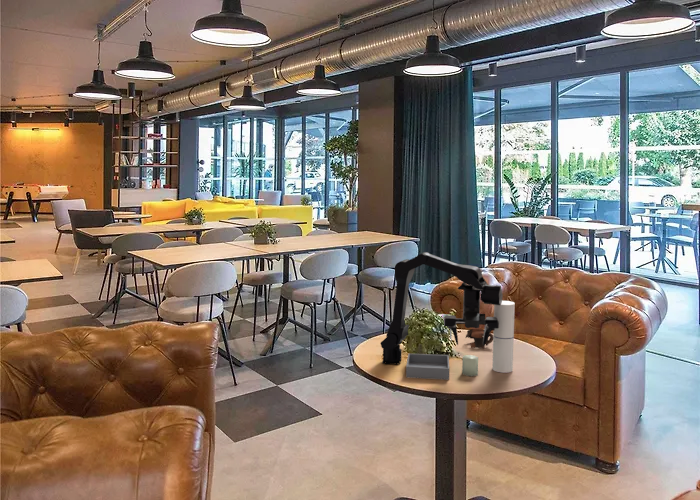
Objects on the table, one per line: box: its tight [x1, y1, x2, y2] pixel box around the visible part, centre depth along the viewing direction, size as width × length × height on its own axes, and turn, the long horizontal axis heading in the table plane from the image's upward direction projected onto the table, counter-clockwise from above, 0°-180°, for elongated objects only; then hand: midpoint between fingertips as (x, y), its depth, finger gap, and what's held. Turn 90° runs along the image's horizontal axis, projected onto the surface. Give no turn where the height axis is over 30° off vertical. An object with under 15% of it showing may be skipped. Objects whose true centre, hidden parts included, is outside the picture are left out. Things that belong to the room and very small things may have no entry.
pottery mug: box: [465, 328, 493, 349], centre depth 237 cm, size 12×10×8 cm
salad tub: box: [461, 354, 479, 377], centre depth 203 cm, size 6×6×6 cm
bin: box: [405, 353, 450, 381], centre depth 205 cm, size 15×15×4 cm
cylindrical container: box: [491, 300, 516, 374], centre depth 206 cm, size 7×7×25 cm
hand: (470, 345), depth 202 cm, fingers open, 9 cm apart
